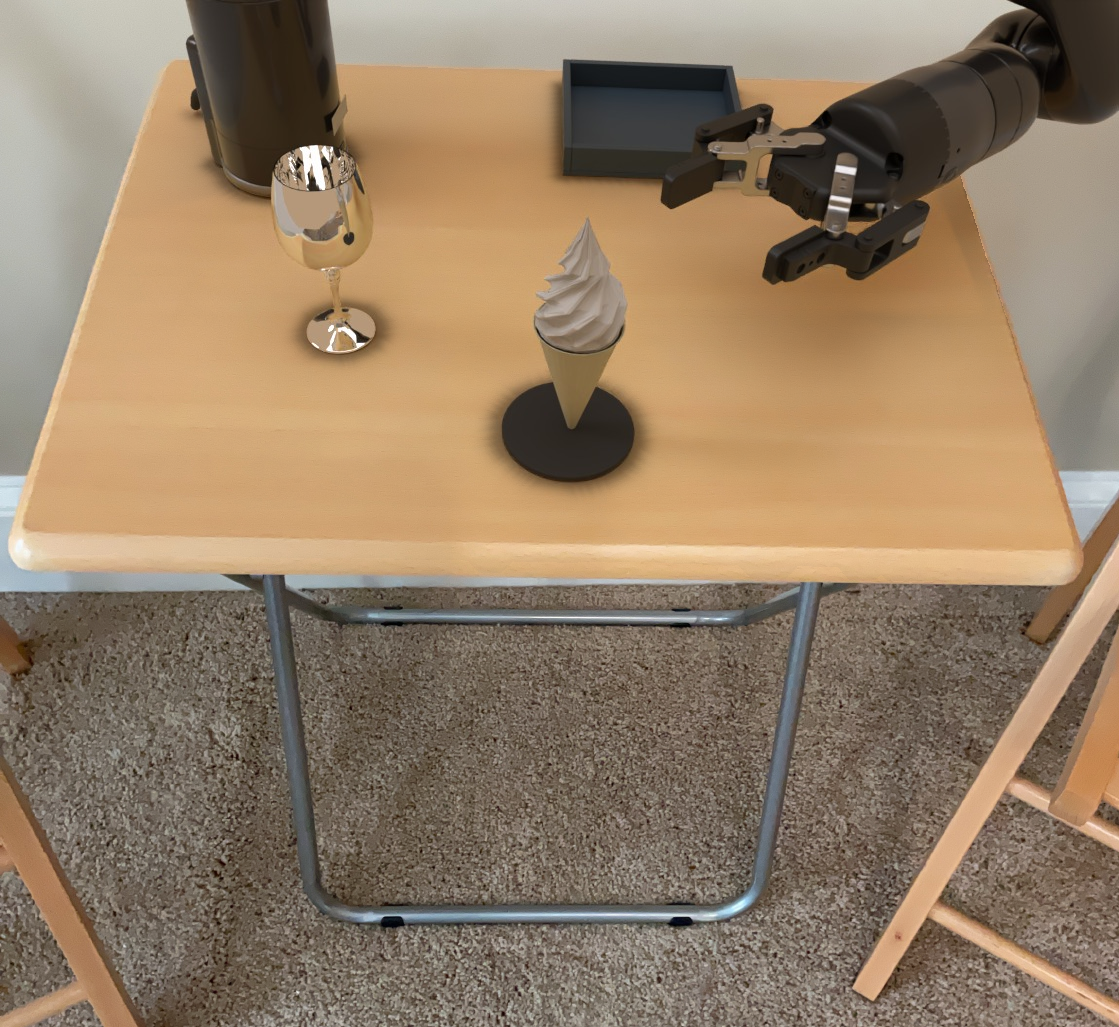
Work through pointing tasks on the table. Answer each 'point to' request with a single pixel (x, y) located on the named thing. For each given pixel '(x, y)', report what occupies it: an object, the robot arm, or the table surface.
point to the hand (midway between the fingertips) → (715, 229)
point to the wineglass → (325, 232)
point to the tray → (639, 114)
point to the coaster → (567, 435)
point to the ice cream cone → (580, 322)
